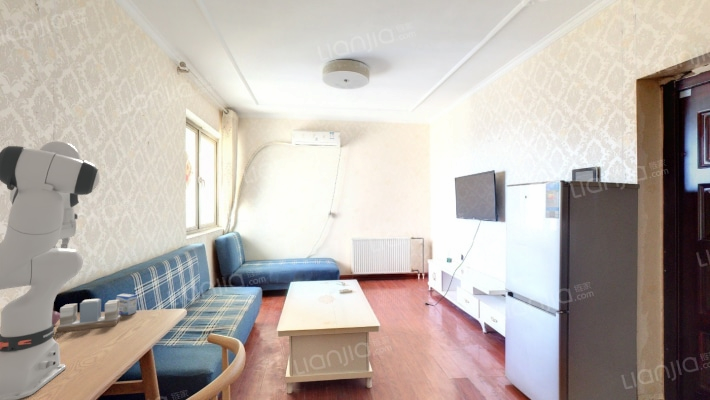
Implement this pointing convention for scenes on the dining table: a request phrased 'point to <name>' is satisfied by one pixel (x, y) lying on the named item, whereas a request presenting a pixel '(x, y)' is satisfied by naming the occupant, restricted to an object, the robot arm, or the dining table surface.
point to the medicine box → (127, 303)
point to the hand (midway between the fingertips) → (58, 250)
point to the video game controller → (55, 317)
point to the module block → (90, 310)
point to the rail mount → (72, 323)
